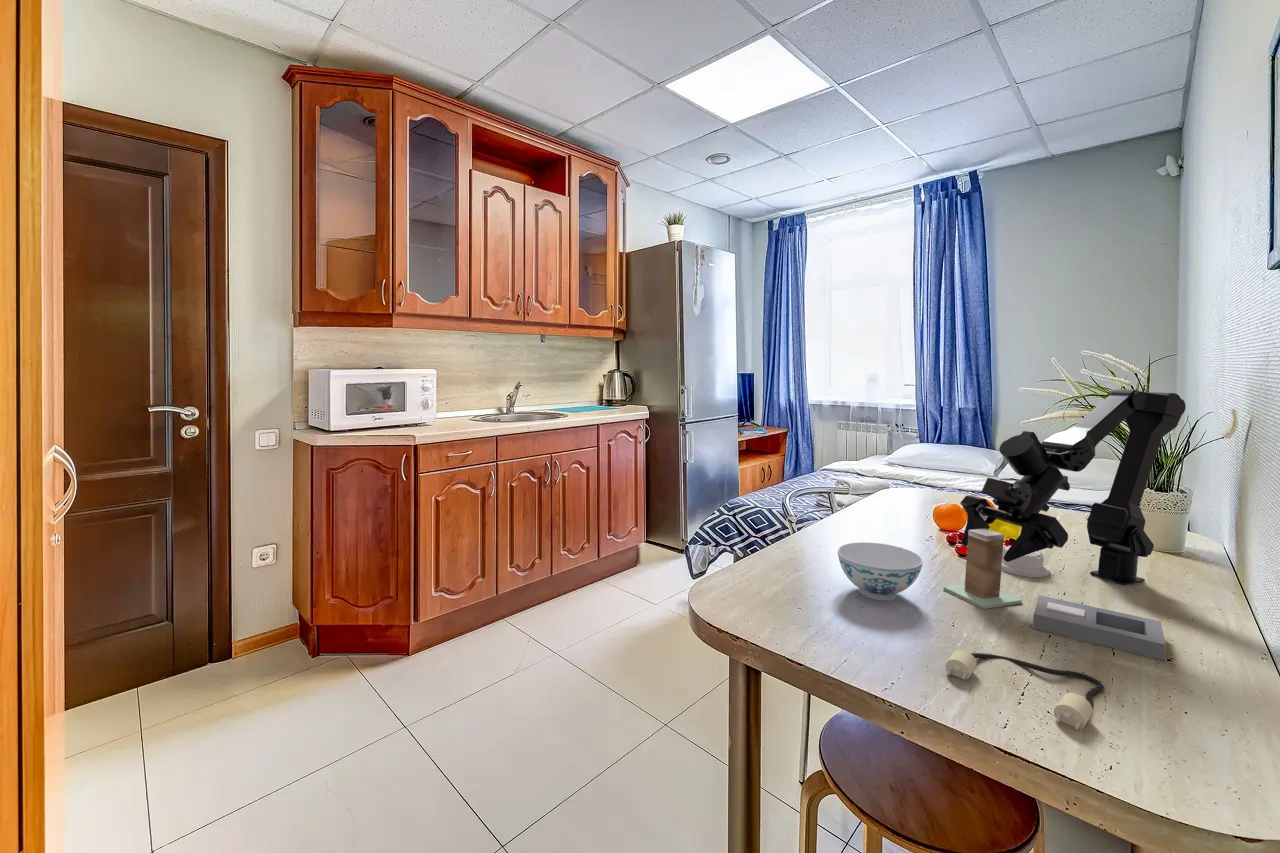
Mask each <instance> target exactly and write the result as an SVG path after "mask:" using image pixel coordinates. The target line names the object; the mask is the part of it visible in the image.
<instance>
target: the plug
mask: <svg viewBox="0 0 1280 853" xmlns="http://www.w3.org/2000/svg"><path fill="white" fill-rule="evenodd" d="M1004 538H1005V534H1003V533H1001V532H998V531H994V530H992V529H974V530H968V545H967V546H966V547H967V548H966V549H967V550H966V565H965V576H964V579H965V580H964V584H965V591H967V592H969V593H971V594H973V595H975V596H977V597H980V598H982V599H985V598H992V597H999V595H1000V591H1001V579H1002V570H1001V568H1002V554H1003V546H1004V541H1005V539H1004Z"/></svg>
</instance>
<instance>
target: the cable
mask: <svg viewBox="0 0 1280 853" xmlns="http://www.w3.org/2000/svg"><path fill="white" fill-rule="evenodd" d="M977 659H985V660H987V659H988V660H990V659H991V660H992V659H996V660H997V659H999V660H1006V661H1008V662H1011V663H1014V664H1016V665H1018V666H1021V667H1024V668H1027V669H1031V670H1033V671H1038V672H1042V673H1045V674H1048V675H1052V676H1053V675H1054V676H1060V677H1074V678H1077V679H1082V680H1085V681H1088V682H1090V683H1092V684H1093V685H1095V687H1093V688H1091V689H1089V690H1088V691H1087V692H1086V694H1085V697H1084V696H1082V695H1080V694H1077V693H1074V692H1068V693H1065V694H1064V695H1062V697H1061V699H1060V700H1059V701H1058V702H1057V704H1056V705H1055V707H1054V709H1053V715H1054V717H1055V719H1056V722H1057V723H1060V722H1061V723H1064V724H1066V725H1069V726H1071V727H1073V728H1075V729H1074V730H1081V731H1082V730H1083V728H1084V727H1085V726H1086V725H1087V723H1088V722H1089V720H1090V718H1091V717H1092V715H1093V712H1094V711H1093V708H1094V705H1095V703H1094V702H1095V701H1094V699H1093V698H1094V697H1096V696H1097V695H1098V694H1100V693H1102V692H1103V691H1104V689H1105V686H1104V684H1103V683H1102V682H1101V681H1100V680H1098V679H1096V678H1094V677H1092V676H1090V675H1089V674H1086V673H1082V672H1078V671H1075V670H1074V671H1073V670H1063V669H1062V670H1061V669H1054V668H1048V667H1045V666H1042V665H1038V664H1035V663H1031V662H1027V661H1025V660H1022V659H1021V660H1020V659H1017V658H1011V657H1007V656H1004V655H1003V656H1002V655H997V654H990V653H984V652H983V653H981V652H980V653H979V652H974V653H973V652H969V651H967V650H965V649H957V650H955V651H953V653H952V654H951V656H950V657H949V659H948V660H947V661H946V662H945V669H946V670H945V671H946V672H947V675H948V676H950V675H951V676H954V677H957V678H960V679H962V680H965V681H967V680H969V678H970V677H971V675H972V673H973V672H974V671H975V669H976V667H977Z"/></svg>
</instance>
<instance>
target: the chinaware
mask: <svg viewBox="0 0 1280 853" xmlns="http://www.w3.org/2000/svg"><path fill="white" fill-rule="evenodd" d="M837 558H838V560H839V563H840V564H839V565H840V567H841V569H842V571H843V573H844V575H845V576H846V578H848V580H849V581H850V582H851V583H852V584H853V585H854V586H855V587H857V588H858V592H859V594H861V595H862V596H864V597H867V598H868V599H869V598H870V599H873V600H878V601H891V600H894V599H895V598H897V595H898V594H900V593H902V592H904V591H905V590H908V589H909V588H910V587H911V586H912V585H913V584H914V583H915V582H916V580H917V578H918V577H919V575H920V572H921V570H922V568H923V564H924V560H923V557H921V556H920V555H919V554H918V553H916V552H913V551H912V550H909V549H907V548H903V547H899V546H897V545H891V544H887V543H886V544H885V543H879V542H865V541H863V542H862V541H860V542H850V543H845V544H843V545H841V546H839V547H838V549H837Z"/></svg>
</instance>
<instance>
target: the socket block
mask: <svg viewBox="0 0 1280 853" xmlns="http://www.w3.org/2000/svg"><path fill="white" fill-rule="evenodd" d="M1032 629H1034V630H1040V631H1043V632H1047V633H1050V634H1051V633H1052V634H1055V635H1059V636H1063V637H1068V638H1072V639H1075V640H1079V641H1082V642H1083V641H1084V642H1088V643H1090V644H1094V645H1099V646H1102V647H1108V648H1111V649H1116V650H1120V651H1124V652H1127V653H1132V654H1135V653H1136V654H1135V655H1140V656H1144V657H1147V658H1151V659H1154V660H1155V659H1156V660H1159V661H1163V662H1165V658H1166V657H1165V656H1166V647H1167V644H1166V639H1165V635H1164V630H1163V625H1162V621H1161V620H1156V619H1152V618H1148V617H1143V616H1137V615H1134V614H1129V613H1124V612H1120V611H1119V612H1118V611H1114V610H1109V609H1106V608H1101V607H1096V606H1091V605H1087V604H1082V603H1079V602H1073V601H1069V600H1063V599H1059V598H1055V597H1050V596H1045V595H1041V594H1039V595H1038V597H1037V601H1036V604H1035V607H1034V612H1033V616H1032Z"/></svg>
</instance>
